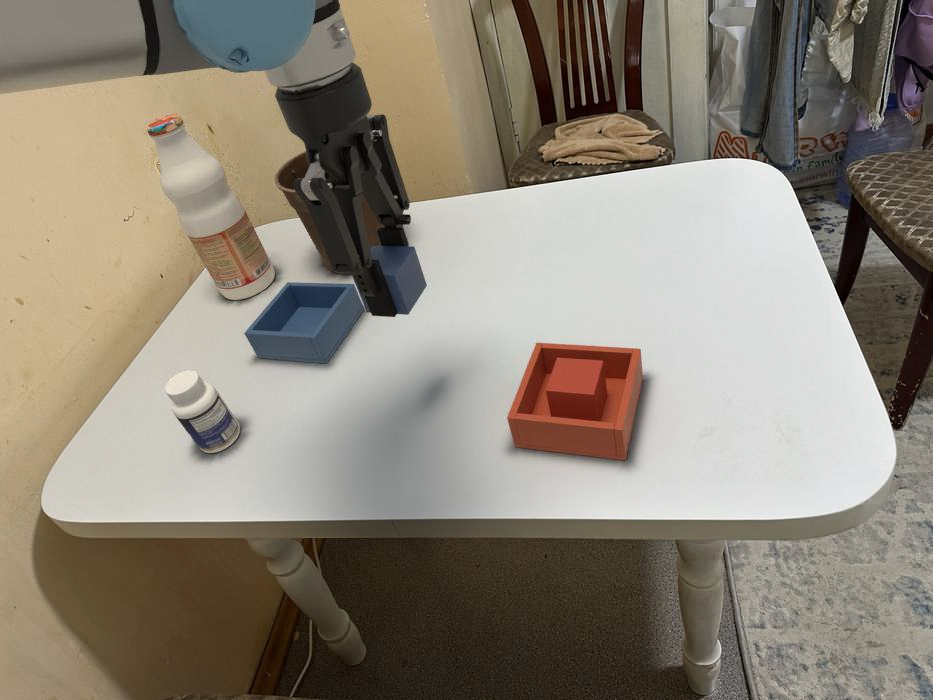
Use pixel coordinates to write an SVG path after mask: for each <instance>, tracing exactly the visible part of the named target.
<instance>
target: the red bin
mask: <svg viewBox="0 0 933 700" xmlns="http://www.w3.org/2000/svg"><path fill="white" fill-rule="evenodd" d="M530 355H531V356H530V358H529V360H528V363H527V365H526V368H525V371H524V373H523V376H522V378H521V380H520V384H519V386H518V389H517V391H516V394H515V396H514V399H513V401H512V404H511V405H510V406H511V407H510V409H509V411H508V415H507V417H506V419H507V423H508V427H509V429H510V430H509V431H510V434H511V437H512V441H513V444H514V447H515V448H522V449H528V450H529V449H530V450H536V451H546V452H554V453H561V454H568V455H570V454H571V455H577V456H586V457H592V458H602V459H610V460H619V461H626V460H627V456H628V450H629V446H630V441H631V436H632V432H633V427H634V422H635V418H636V414H637V409H638V403H639V399H640V396H641V390H642V386H643V381H644V376H643V359H642V349H641V348H636V347H635V348H633V347H620V346H619V347H617V346H602V345H601V346H600V345H586V344H585V345H584V344H566V343H552V342H551V343H549V342H536V343H535V345H534V348H533V350H532V353H531V354H530ZM557 358H571V359H586V360H601V361H603V362H604V370H605V378H606V387H607V397H606V401H605V405H604V409H603V413H602V417H601V420H600V422H599V421H589V420H579V419H570V418H560V417H551V414H550V409H549V405H548V400H547V395H546V388H547V385H548V382H549V379H550V376H551V373H552V371H553V368H554V365H555V362H556V359H557Z"/></svg>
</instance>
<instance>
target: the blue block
mask: <svg viewBox="0 0 933 700" xmlns="http://www.w3.org/2000/svg"><path fill="white" fill-rule="evenodd" d="M370 252H371V257H372V260H379V263H380V265H381V268H382V271H383V274H384V277H385V280H386V282H387V285H388V288H389V291H390V293H391V296H392V299H393V301H394V304H395V307H396V309H397V312H398V313H397V315H405V316H408V315H409V314H410V313H411V311H412V310H413V308H414V307H415V305H416V304H417V302H418V300H419V299H420V297H421V296H422V294H423V292H424V291H425V289H426V288H427V286H428V284H427V281H426V278H425V274H424V271H423V269H422V266H421V263H420V259H419V256H418V253H417V250H416V247H415V246H411V245H409V246H373V247H372V248H371V249H370ZM350 275H351V277H352V279H353V282H354V285H355V288H356V290H357V293H358V295H359V298H360V300H361V302H362V305H363V307H364V310H365V312H366V313H368V314H369V313H370V314H371V312H370V310H369V307H368V305H367V302H366V300H365V297H364V296H363V295H362V294H361V293H360V291H359V288H358V286H357V283H356V281H355V278H354V276H353V274H350Z"/></svg>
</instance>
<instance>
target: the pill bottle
mask: <svg viewBox="0 0 933 700" xmlns="http://www.w3.org/2000/svg"><path fill="white" fill-rule="evenodd" d="M164 392H165V393H166V395H167V396H168V397H169V399H170V400H171V403H170V405H171V406H170V408H171V411H172V414H173V415H174V417H175V418H176V419H177V420H178V422H179V423H180V424H181V426H182V427H183V428H184V430H185V432H186V433H187V434H188V435H189V437H190V438H191V439H192V441H193V442H194V444H196V446H197V447H198V448H199V450H201V451H202V452H203V453H207V454H215V453H219V452H222V451H224V450H226V449H227V448H229V447H230V446H231V445H232V444H234V442H236V440H237V439H238V438H239V436H240V434H241V433H240V432H241V425H240V423H239V422H238V420H237V418H236V417H235V415H234V413H233V412H232V411H231V409H230V408H229V407H228V405H227V404H226V402H225V400H224V399H223V398H222V396H221V394H220V393H219V392H218V390H217V389H216V387H215V386H214V385H213V384H212V383H211V382H208V381H204V380H203V378H202V377H201V376H200V374H199V373H198V372H197V371H196V370H193V369H188V370H184V371H183V370H182V371H180V372H179V373H177V374H175V375H174V376H172V377H171V378H170V379H169V380H168V381H167V383H166V384H165V386H164Z"/></svg>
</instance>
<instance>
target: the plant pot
mask: <svg viewBox="0 0 933 700" xmlns="http://www.w3.org/2000/svg"><path fill="white" fill-rule="evenodd" d="M309 167H310V166H309V164H308V162H307V156H306V150H304V151H302V152H300V153H299V154H297V155H294V156H293V157H292V158H290V159H288V160H287V161H286V162H284V163H283V164H282V165H281V166H280V167H279V168H278V170H277V171H276V173H275V175H274V184H275V186H276V187H277V189H278V190H280V191H281V192H282V193H283V195H284V197H285V198H286V200H287V202H288V203H289V205H290V207H291V208H292V209H293V210H295V213H296V215H297V216H298V218H299V220H300V222H301V223H302V225H303V227H304V229H305V231H306V232H307V234H308V236H309V238H310V240H311V242H312V243H313V245H314V247H315V248H316V250H317V252H318V254H319V257H320V258H321V260H322V262H323V264H324V265H325V267H326V268H327V269H328V270H330V271H331V272H334V271H333V269H332V266H331V264H330V261H329V259H328V257H327V254H326V252H325V249H324V247H323V245H322V242H321V240H320V237H319V235H318V233H317V230H316V228H315V225H314V223H313V221H312V218H311V216H310V213H309V211H308V208H307V206H306V204H305V203H304V202H303V200H302V199H301V198H300V196H299V195H298V194H297V193H296V191H295V190H294V181H295V179H297V178H304V177H305V175H306V173H307V171H308V169H309ZM336 186H338V187H339V186H349V185H336ZM359 197H360V202H361V207H362V212H363V217H364V222H365V227H366V232H367V237H368V242H369V247H370V249H371V248H372V247H373V246H382V245H381V242H380V240H379V237H378V234H377V230H378V229H379V228H385V227H384V225H380V224H379V222H378V220H377V218H376V217H375V215H374V213H373V211H372V210H371V208H370V206H369V205H368V203H367V201H366V199H365V198H364V196H363V194H362V193H361V194H360V195H359ZM334 273H335V272H334Z"/></svg>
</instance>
